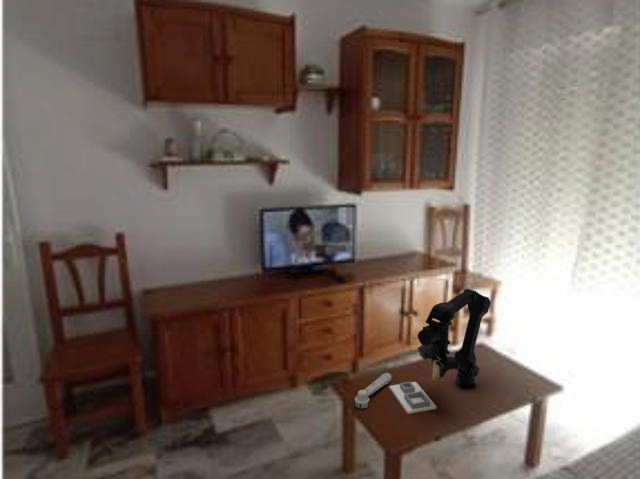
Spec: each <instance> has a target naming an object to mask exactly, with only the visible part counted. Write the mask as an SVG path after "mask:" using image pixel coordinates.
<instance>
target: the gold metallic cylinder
mask: <svg viewBox="0 0 640 479" xmlns="http://www.w3.org/2000/svg"><path fill="white" fill-rule="evenodd" d="M440 360H441V359H439V358H434V362H433V365H432V380H433V381H434V382H436V383H443V382H444V380H445V375H444V376H443V377H441V378H440V374H439V365H437V364H436V363H437V362H440Z"/></svg>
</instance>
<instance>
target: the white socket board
mask: <svg viewBox="0 0 640 479" xmlns="http://www.w3.org/2000/svg"><path fill="white" fill-rule="evenodd" d="M388 388H389V390H390V391H391V393H392V394H393V395H394V397H395V398H396V400H397V401H398V403H399V404H400V406H402V408H403V410H404V411H405V413H406V414H409V415H410V414H415V413H420V412H425V411H431V410H436V409H437V405H436V404H435V403H434V402H433V400H432V399H431V398H430V396H428V395H427V393H426V392H425V391H424V390H423V388H422V387H421V386H420V385H419V384H418V382H416V381H412V382H411V381H405V382H400V383H398V384H392V385H389V386H388Z"/></svg>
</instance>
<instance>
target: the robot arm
mask: <svg viewBox="0 0 640 479" xmlns="http://www.w3.org/2000/svg"><path fill="white" fill-rule="evenodd" d="M491 305H492V301H491V300H490V298H489V296H485V295H483V294H480V293H479V292H477V291H476V290H475V289H470V288H465V289H464V290H463V291H462V292H461V293H459V294H458V295H456V296H455V297H453V298H452V299H450V300H448V301H446V302H445V301H444V302H439V303H437V304H434V306H433V307H432V308H431V310H430V311H429V314H428V316H427V318H426V320H425V324H428V325H425V326H422V329H421V330H420V331H419V332H418V334H417V339H418V342H419V343H420V346H418V347H417V351H418V354H419V356H420V357H421V358H422V359H423V360H426V361H427V360H430V361H431V365H432V366H433V362H434V358H439V359H441V360H440V362H437V363H436V364H437V365H439V374H440V378H441V377H443V376H444V377H445V375H446V373H447V372H448V371H449V370H457V373H456V379H455V380H454V381H455V383H456V384H457V385H458V386H459V387H460V389H461V390H467V389H472V388H473V389H474V388H477V385H476V384H475V380H476V379H475V378H476V377H477V376H478V374H479V372H480V368H479V366H478V365H477V364H476V362H477V357H476V354H475V348H476V344H477V339H478V336H479V332H480V327H481V325H482V319H483V317H484V316H486V315H487V314H488V313H489V310H490V308H491ZM466 306H467V310H468V312H469V317H468V320H467V324H466V328H465V332H464V338H463V342H462V345H461V348H460V349H459V350H456V351H455V353H454V357H453V356H447V355H450V354H451V352H450V350H449V349H448V348H449V345H451V340H449V334H450V333H449V331H450V326H452V325H453V323H452V321H453V319H455V317H456V316H455V315H456V313H457V312H460V310H462V309H464V308H465V307H466Z"/></svg>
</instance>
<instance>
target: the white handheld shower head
mask: <svg viewBox="0 0 640 479" xmlns="http://www.w3.org/2000/svg"><path fill="white" fill-rule="evenodd" d="M392 380H393V376H392V374H391V373H390V372H385V373H382V374H381V375H379V377H378V378H377V379H376V380H374V381H373V382H372V383H371V384H369V385H368V386H367V387H366V388H364V389H360V390H358V392H357V395H356V396H355V398H354V402H355V407H356V408H358V409H359V410H360V409H363V408H364V409H367V408H368V406H369V402H370V398H369V396H371V395H372V394H374V393H375V392H376V391H378V390H379V389H381V388H382V387H384V386H385V385H388V384H389V383H390V382H391V381H392Z"/></svg>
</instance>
